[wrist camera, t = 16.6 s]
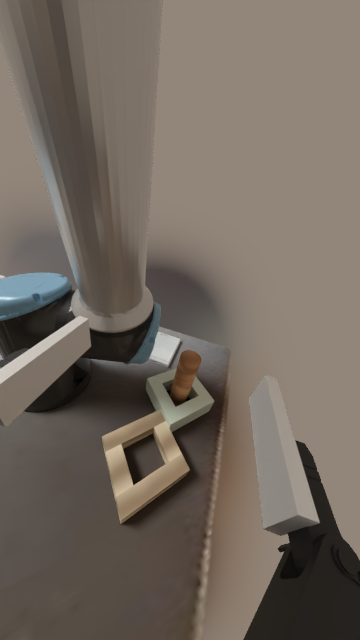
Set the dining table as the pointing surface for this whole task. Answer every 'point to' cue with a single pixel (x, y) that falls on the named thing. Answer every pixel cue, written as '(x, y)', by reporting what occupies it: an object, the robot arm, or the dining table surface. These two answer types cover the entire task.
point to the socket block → (182, 413)
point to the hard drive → (164, 349)
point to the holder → (157, 482)
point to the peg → (184, 376)
